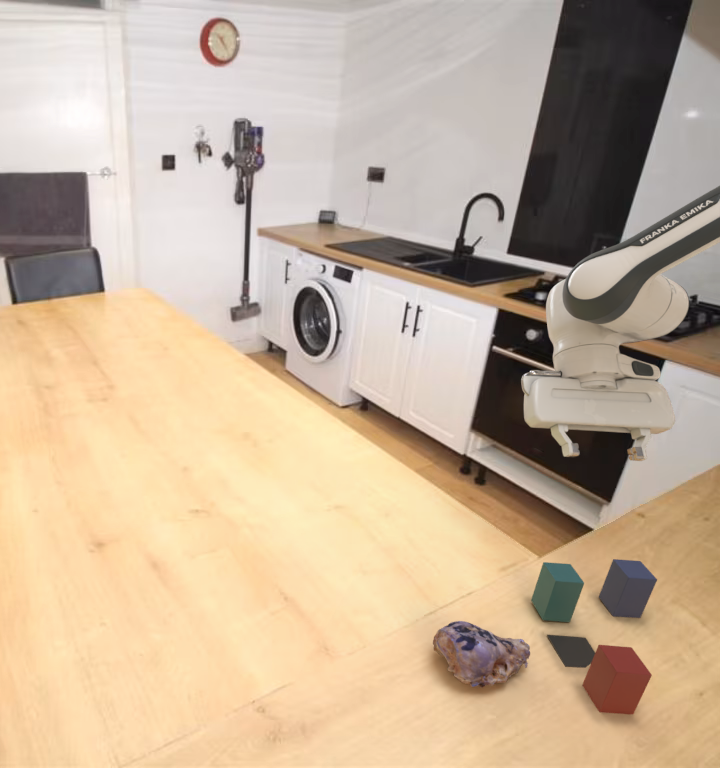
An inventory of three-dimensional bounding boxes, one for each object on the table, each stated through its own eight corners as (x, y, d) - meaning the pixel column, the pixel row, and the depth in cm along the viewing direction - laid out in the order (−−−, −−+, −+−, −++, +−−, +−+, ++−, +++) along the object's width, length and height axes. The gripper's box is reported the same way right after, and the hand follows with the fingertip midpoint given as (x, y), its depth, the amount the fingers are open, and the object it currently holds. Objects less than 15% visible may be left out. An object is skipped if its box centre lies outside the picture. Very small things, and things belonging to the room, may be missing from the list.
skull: (513, 639, 71) (525, 606, 68) (545, 696, 64) (560, 663, 61) (421, 639, 71) (429, 606, 68) (443, 696, 64) (453, 663, 61)
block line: (561, 602, 77) (575, 564, 74) (637, 719, 61) (658, 675, 58) (526, 599, 77) (538, 561, 74) (592, 714, 61) (611, 671, 59)
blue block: (624, 599, 77) (640, 560, 75) (640, 618, 74) (657, 579, 71) (598, 596, 78) (612, 558, 75) (612, 616, 74) (628, 577, 72)
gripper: (529, 361, 83) (542, 448, 78) (670, 367, 82) (693, 457, 77) (510, 377, 89) (521, 458, 84) (642, 383, 87) (661, 467, 82)
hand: (604, 458), depth 80 cm, fingers open, 8 cm apart
